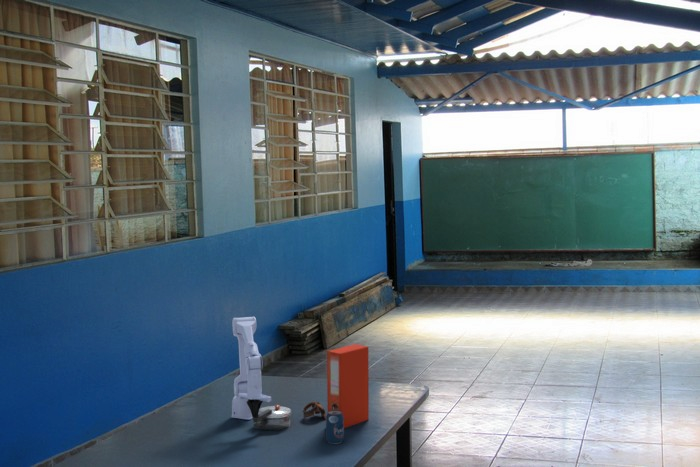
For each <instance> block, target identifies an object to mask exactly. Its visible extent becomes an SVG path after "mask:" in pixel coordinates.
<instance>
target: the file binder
mask: <svg viewBox="0 0 700 467" xmlns="http://www.w3.org/2000/svg"><path fill="white" fill-rule="evenodd" d="M326 363H327V364H326V368H327V371H326V372H327V375H326V380H327V381H326V382H327V384H326V387H327V388H326V389H327V391H326V393H327V412H328V411H331V410H340V411H342V414H343V416H344V429H346V428H349V427H352V426H354V425H358V424H360V423H363V422H366V421H369V417H370V415H369V410H370V407H369V405H370V404H369V403H370V402H369V401H370V400H369V399H370V398H369V396H370V394H369V393H370V392H369V391H370V390H369V383H370V382H369V376H370V375H369V346H366V345H361V344H356V343H354V344H351V345H350V344H349V345H346V346H342V347H338V348H334V349H330V350H327V351H326Z"/></svg>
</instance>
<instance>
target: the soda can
mask: <svg viewBox="0 0 700 467" xmlns="http://www.w3.org/2000/svg"><path fill="white" fill-rule="evenodd" d="M325 424H326V425H325V426H326V429H325V430H326V431H325V432H326V433H325V434H326V437H325V438H326V441H327V442H328V444H333V445H339V444H341V443H342V442H343V441H344V439H345V430H344V429H345V428H344V416H343V414H342V411H340V410H331V411H328V410H327V413H326V420H325Z"/></svg>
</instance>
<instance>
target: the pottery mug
mask: <svg viewBox="0 0 700 467" xmlns="http://www.w3.org/2000/svg"><path fill="white" fill-rule="evenodd" d="M309 408H311V409H310V410H308V409H309ZM302 413H303V418H304V419H306V418H310V417H312V416H313V417H315V414H316V415H319V414H321V417H324V420H325V419H326V416H327V413H326V410H325V409H324V406H323V405H321V403H320V402H319V401H311V402H309V403H308V404H305V406H304V407H303V410H302Z"/></svg>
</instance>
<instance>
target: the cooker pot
mask: <svg viewBox="0 0 700 467" xmlns="http://www.w3.org/2000/svg"><path fill="white" fill-rule="evenodd" d="M287 427H288V428H290V427H291V414H290V415H289V416H287V417H283V418H277V419H263V420H262V421H260V422H258V423H255V422H254V424H253V429H259V428H260V430H262V429H263V431H270V430H273V431H281V430H280V429H282V430H285V429H287ZM284 428H285V429H284Z"/></svg>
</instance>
